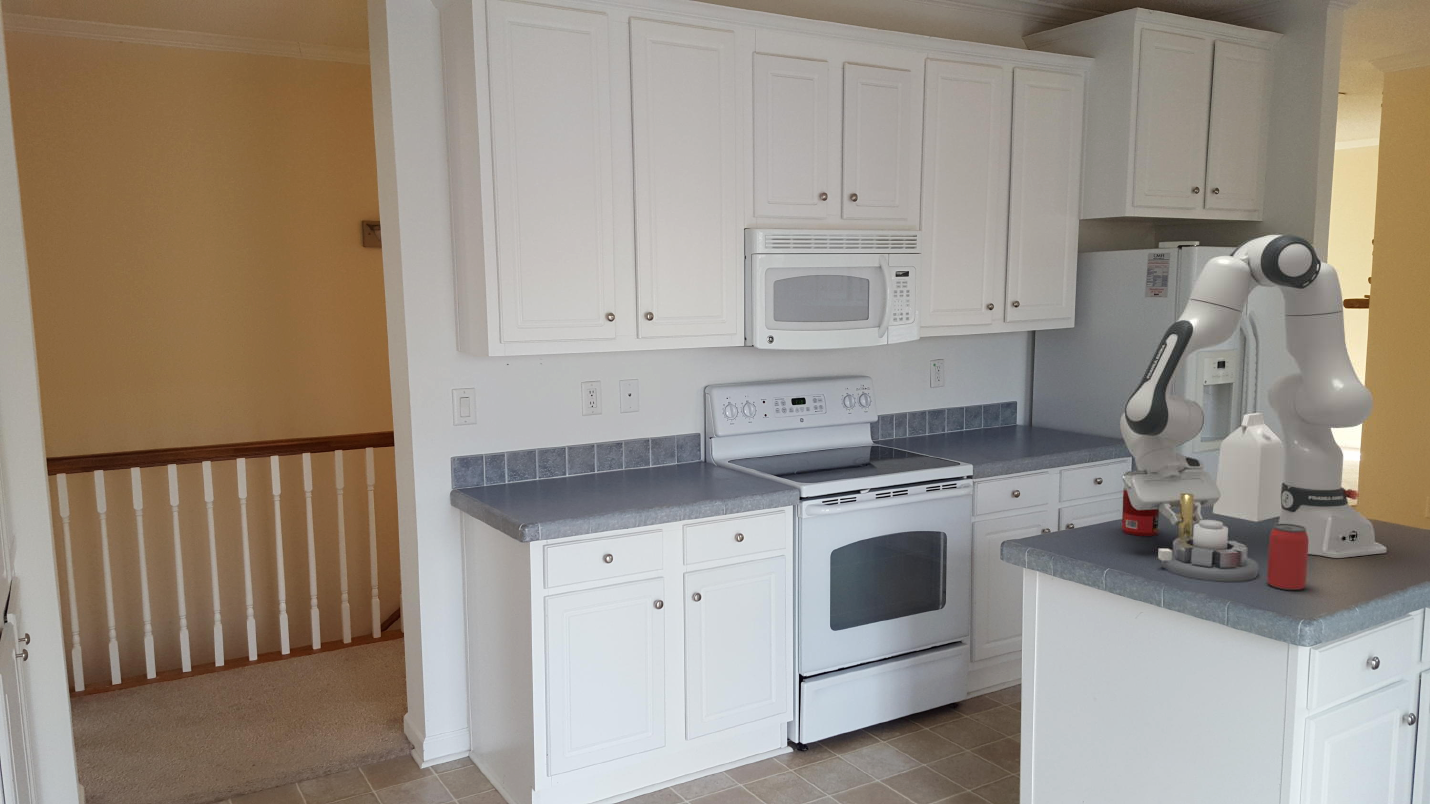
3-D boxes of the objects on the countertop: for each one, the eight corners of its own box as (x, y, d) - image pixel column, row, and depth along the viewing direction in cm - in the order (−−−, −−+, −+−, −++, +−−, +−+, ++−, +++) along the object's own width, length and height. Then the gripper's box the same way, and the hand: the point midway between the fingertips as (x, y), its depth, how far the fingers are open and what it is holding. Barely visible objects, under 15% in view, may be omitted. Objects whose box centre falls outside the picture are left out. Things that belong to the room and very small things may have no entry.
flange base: (1222, 555, 219) (1225, 511, 218) (1277, 579, 201) (1280, 531, 200) (1140, 558, 217) (1142, 513, 216) (1188, 583, 199) (1190, 534, 198)
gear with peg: (1259, 566, 203) (1263, 509, 202) (1197, 568, 202) (1200, 511, 200) (1210, 544, 220) (1212, 492, 218) (1152, 546, 218) (1154, 493, 217)
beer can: (1259, 581, 200) (1263, 523, 199) (1291, 580, 201) (1294, 522, 199) (1280, 591, 194) (1284, 531, 192) (1313, 590, 194) (1317, 530, 193)
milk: (1238, 507, 266) (1244, 410, 263) (1282, 515, 256) (1288, 414, 253) (1212, 512, 259) (1218, 413, 256) (1256, 521, 250) (1262, 418, 247)
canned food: (1161, 537, 236) (1163, 491, 234) (1125, 535, 237) (1127, 489, 236) (1153, 529, 243) (1155, 484, 242) (1118, 527, 245) (1120, 483, 243)
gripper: (1126, 463, 220) (1151, 517, 212) (1208, 459, 224) (1236, 512, 216) (1113, 479, 225) (1137, 532, 217) (1194, 475, 229) (1221, 527, 221)
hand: (1187, 522), depth 217 cm, fingers open, 4 cm apart
